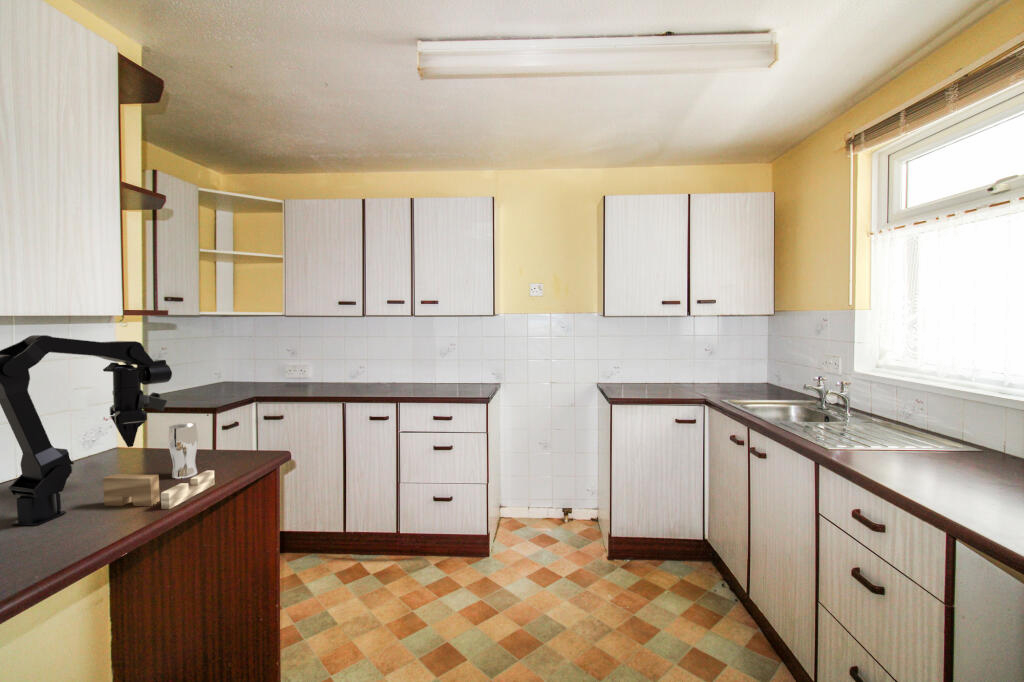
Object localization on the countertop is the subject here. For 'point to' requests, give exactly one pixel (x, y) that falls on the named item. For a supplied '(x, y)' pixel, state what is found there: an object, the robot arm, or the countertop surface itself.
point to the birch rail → (187, 489)
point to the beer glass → (183, 449)
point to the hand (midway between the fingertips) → (128, 443)
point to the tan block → (131, 490)
